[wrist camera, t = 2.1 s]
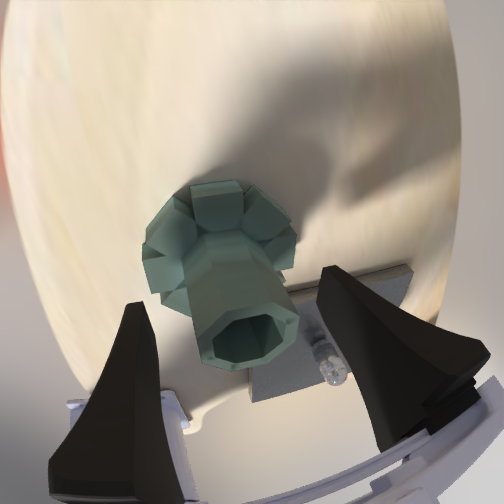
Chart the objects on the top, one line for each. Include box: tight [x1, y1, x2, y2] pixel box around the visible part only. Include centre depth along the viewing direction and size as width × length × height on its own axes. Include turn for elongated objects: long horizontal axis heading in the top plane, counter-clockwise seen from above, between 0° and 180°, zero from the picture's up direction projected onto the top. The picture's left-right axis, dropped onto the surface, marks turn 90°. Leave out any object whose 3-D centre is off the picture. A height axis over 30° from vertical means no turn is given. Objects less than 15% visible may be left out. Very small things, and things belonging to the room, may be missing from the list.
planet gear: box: [142, 180, 300, 371], centre depth 12 cm, size 7×7×6 cm
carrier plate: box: [249, 264, 414, 403], centre depth 21 cm, size 12×12×5 cm
